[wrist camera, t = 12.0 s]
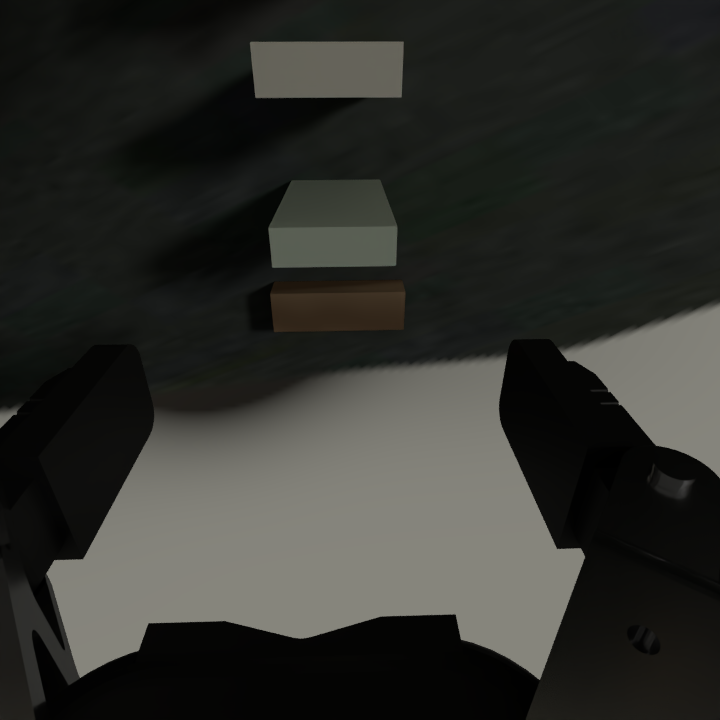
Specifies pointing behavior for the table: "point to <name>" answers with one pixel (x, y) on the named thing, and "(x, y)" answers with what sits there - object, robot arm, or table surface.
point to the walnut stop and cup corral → (338, 305)
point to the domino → (327, 69)
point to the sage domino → (333, 225)
